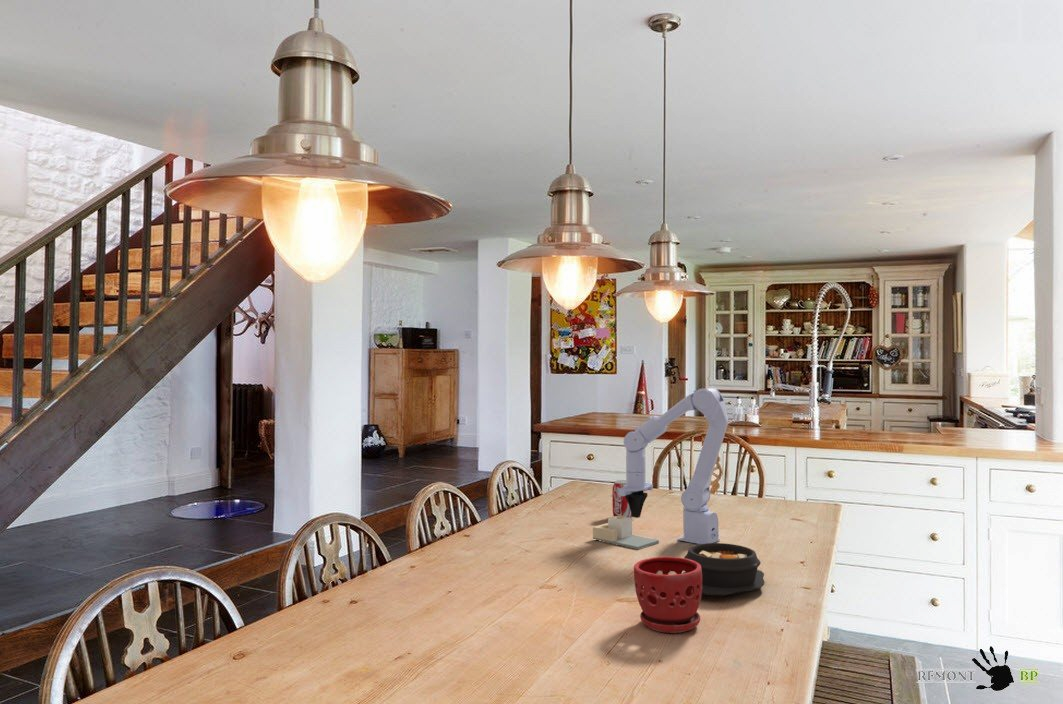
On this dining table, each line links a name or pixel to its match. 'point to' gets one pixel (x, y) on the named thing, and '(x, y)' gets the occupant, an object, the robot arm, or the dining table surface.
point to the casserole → (726, 568)
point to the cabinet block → (621, 526)
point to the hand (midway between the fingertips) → (636, 517)
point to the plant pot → (669, 593)
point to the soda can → (620, 501)
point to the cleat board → (611, 537)
